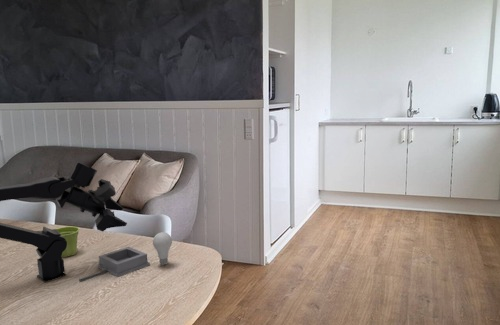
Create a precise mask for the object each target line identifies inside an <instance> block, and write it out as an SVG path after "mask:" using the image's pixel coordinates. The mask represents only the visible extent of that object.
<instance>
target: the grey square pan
mask: <svg viewBox="0 0 500 325" xmlns="http://www.w3.org/2000/svg"><path fill="white" fill-rule="evenodd" d="M150 265H151V263H150V262H149V261H148V254H147V253H145V252H142V251H141V250H138V249H135V248H133V247H130V246H126V247H123V248H120V249H116V250H114V251H113V250H112V251H111V252H107V253H104V254H101V255H98V264H97V268H99V269H100V270H101V271H99V272H96V273H92V274H90V275H87V276H84V277H82V278H78V282H80V283H81V282H85V281H87V280H89V279H93V278H95V277H98V276H101V275H103V274H107V273H108V274H109V275H112V276H114V277H116V278H119V277H121V276H124V275H126V274H130V273H133V272H134V271H138V270H140V269H143V268H146V267H148V266H150Z"/></svg>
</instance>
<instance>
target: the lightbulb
mask: <svg viewBox="0 0 500 325" xmlns="http://www.w3.org/2000/svg"><path fill="white" fill-rule="evenodd" d="M172 244H173V239H172V236H171V235H170V234H169V233H168V232H165V231H161V232H158V233H157V234H156V235H155V236H154V237H153V240H152V245H153V247H154V249H155V251H156V252H157V254H158V255H157V256H158V259H159V264H160V265H162V266H165V265H166V264H168V263H169V262H168V258H169V251H170V249H171V247H172Z"/></svg>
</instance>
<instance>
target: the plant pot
mask: <svg viewBox="0 0 500 325" xmlns="http://www.w3.org/2000/svg"><path fill="white" fill-rule="evenodd" d="M55 229H56V230H57V231H58V232H59V233H60V234H61V235H62V236H63V237H64V238H65V239H66V241H67V247H66V249H65V250H64V251H63V252H62V258H68V257H69V256H74V255H76V254H77V249H78V247H77V246H78V235H79V232H80V227H78V226H63V227H58V228H55Z"/></svg>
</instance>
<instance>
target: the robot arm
mask: <svg viewBox="0 0 500 325" xmlns="http://www.w3.org/2000/svg"><path fill="white" fill-rule="evenodd" d="M97 172H98V170H97V169H95V168H93V167H91V166H89V165H86V164H82V163H80V162H78V161H76V162H75V164H74V167H73V169H72V171H71V172H70V174H69V176H67V175H65V176H62V177H55V176H47V177H44V178H38V179H37V180H34V181H31V182H29V183H28V182H27V183H21V184H20V183H19V184H12V185H2V186H0V202H3V201H11V200H19V199H25V198H40V199H41V198H42V199H55V201H56V202H57V206H58V207H60V208H61V209H63V207H64V206H65V204H68V205H71V206H73V207H76V208H78V209H79V212H81V213H85V211H86V212H88V213H91V217H93V218H96V216H97V215H98V216H97V218H96V219H95V221H94V222H95V227H96V229H97V231H99V232H105V231H106V230H107V229H112V228H118V227H119V228H120V227H126V226H127V224H128V223H127V222H126V221H125V220H122V219H120V218H119V217H118V216H116V215H115V211H123V210H124V207H123V206H121V205H120V204H119V203H118V202H117V201H116V200H115V199H113V198H112V197H114V196H116V194H117V192H116V188H115V187H114V185H112V183H111V181H110V180H107V179H106V180H105V179H102V178H101V179H99V180H98V181H97V183H98V186H97V187H96V189H95V190H93V189H88V190H84V189H85V188H88V187H90V186H91V183H92V182H93V180H94V178H95V176H96V174H97ZM75 185H76V186H75ZM77 186H78V187H77ZM82 188H84V189H82ZM113 210H114V211H113ZM56 229H57V228H48V227H46V226H42V230H32V229H28V228H24V227H20V226H15V225H11V224H7V223H4V222H0V239H2V240H4V239H5V240H8V241H13V242H17V243H22V244H25V245H26V244H27V245H32V246H34V247H35V248H36V250H35V251H36V253H37V255H38V256H39V258H37V259H36V260H37V271H38V272H37V273H38V274H37V275H36V277H37V278H38V279H39V280H41V281H42V282H44V283H48V282H51V281H54V280H57V279H59V278H63V277H65V276H66V275H67V274H66V273H65V271H66V270H65V260H64V259H63V257H62V252H63V251H64V250H65V249H66V247H67V241H66V239H65V238H64V237H63V236H62V235H61V234H60V233H59V232H58V231H57V230H56Z"/></svg>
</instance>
